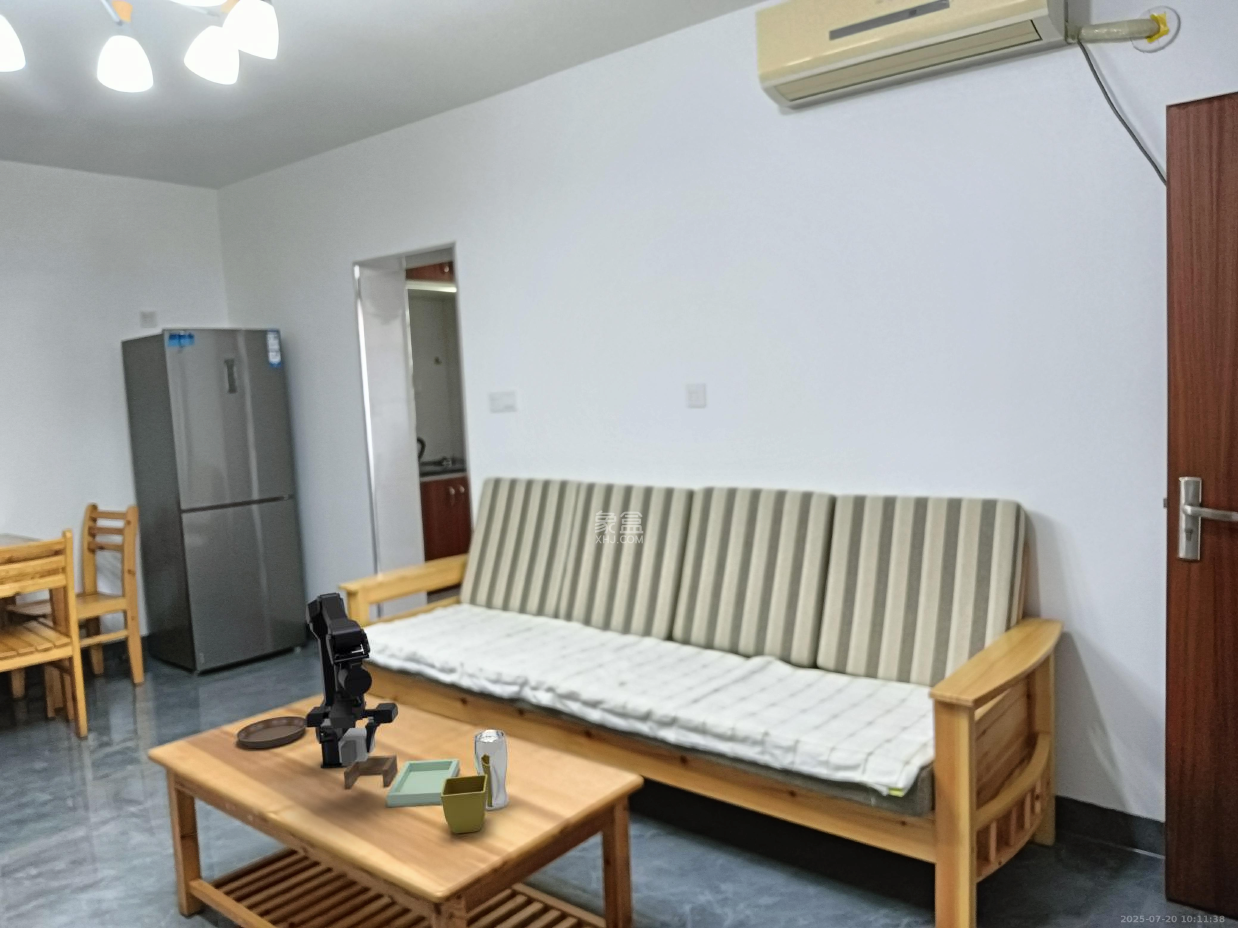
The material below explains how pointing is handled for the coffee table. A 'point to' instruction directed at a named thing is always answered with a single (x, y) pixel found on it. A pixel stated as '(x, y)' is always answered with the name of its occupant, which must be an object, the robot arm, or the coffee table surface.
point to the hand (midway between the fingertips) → (355, 752)
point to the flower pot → (464, 802)
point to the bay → (372, 769)
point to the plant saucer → (272, 732)
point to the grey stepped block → (354, 746)
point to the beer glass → (492, 765)
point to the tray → (421, 782)
